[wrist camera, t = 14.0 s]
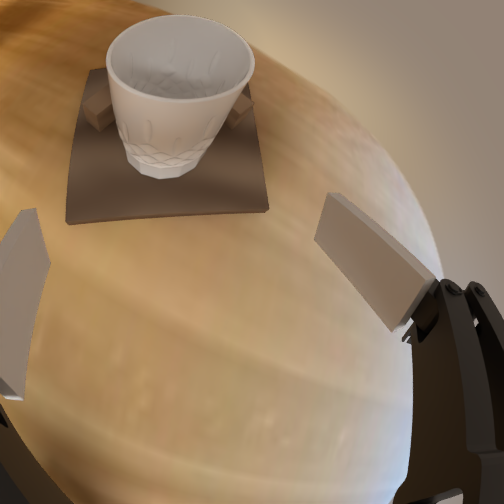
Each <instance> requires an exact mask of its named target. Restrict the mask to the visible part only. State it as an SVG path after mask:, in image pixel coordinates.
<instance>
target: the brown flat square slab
mask: <svg viewBox="0 0 504 504" xmlns="http://www.w3.org/2000/svg"><path fill="white" fill-rule="evenodd" d="M253 105H254V102H253V101H251V96H250V90H249V85H248V83H247V84H246V86H245V87H244V89H243V91H242V92H241V94H240V95H239V97H238V99H237V100H236V102H235V104H234V106H233V107H232V109H231V111H230V113H229V114H228V116H227V118H226V120H225V121H224V123H223V125H222V127H221V128H220V130H219V132H218V133H217V135H216V136H215V138H214V140H213V142H212V143H211V145H210V146H209V147H208V148H207V150H206V152H205V154H204V156H203V157H202V158H201V160H200V161H199V163H198V164H197V166H196V167H195V168H194V169H192V170H190V171H188V172H187V173H185V174H183V175H181V176H180V177H175V178H166V179H157V178H153V177H150V176H147V175H144V174H141V173H140V172H139V171H138V170H136V169H135V168H134V167H133V166H132V165H131V164H130V163H129V162H128V160H127V156H126V153H125V150H124V146H123V142H122V140H121V138H120V136H119V131H118V128H117V124H116V118H115V115H114V111H113V105H112V99H111V93H110V87H109V81H108V74H107V68H104V69H95V70H90V72H89V76H88V79H87V82H86V86H85V90H84V93H83V97H82V101H81V105H80V110H79V114H78V119H77V124H76V129H75V134H74V140H73V146H72V152H71V159H70V167H69V176H68V186H67V199H66V220H65V222H66V223H67V224H68V225H76V224H86V223H96V222H107V221H118V220H131V219H144V218H158V217H174V216H191V215H211V214H235V213H265V212H266V211H267V210H269V204H268V197H267V191H266V184H265V178H264V172H263V166H262V159H261V153H260V147H259V141H258V136H257V130H256V124H255V118H254V113H253V107H252V106H253Z"/></svg>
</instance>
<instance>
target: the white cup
mask: <svg viewBox="0 0 504 504" xmlns="http://www.w3.org/2000/svg"><path fill="white" fill-rule="evenodd" d="M106 67H107V74H108V81H109V87H110V93H111V99H112V105H113V111H114V115H115V118H116V124H117V128H118V131H119V136H120V138H121V140H122V142H123V146H124V150H125V153H126V156H127V160H128V162H129V163H130V164H131V165H132V166H133V167H134V168H135V169H136V170H138V171H139V172H140V173H141V174H144V175H147V176H150V177H153V178H157V179H166V178H175V177H180V176H181V175H183V174H185V173H187V172H188V171H190V170H192V169H194V168H195V167H196V166H197V164H198V163H199V161H200V160H201V158H202V157H203V156H204V154H205V152H206V150H207V148H208V147H209V146H210V145H211V143H212V142H213V140H214V138H215V136H216V135H217V133H218V132H219V130H220V128H221V127H222V125H223V123H224V121H225V120H226V118H227V116H228V114H229V113H230V111H231V109H232V107H233V106H234V104H235V102H236V100H237V99H238V97H239V95H240V94H241V92H242V91H243V89H244V87H245V86H246V84H247V83H248V81H249V79H250V78H251V76H252V74H253V72H254V67H255V59H254V55H253V52H252V50H251V48H250V46H249V45H248V43H247V42H246V41H245V40H244V39H243V38H242V37H241V36H240V35H239V34H238V33H236V32H235V31H234V30H232V29H231V28H229V27H227V26H225V25H223V24H221V23H219V22H216V21H214V20H211V19H207V18H203V17H199V16H192V15H165V16H158V17H154V18H150V19H147V20H144V21H141V22H138V23H136V24H134V25H132V26H130V27H129V28H127V29H126V30H124V31H123V32H122V33H120V34H119V35H118V36H117V37H116V38H115V39H114V41H113V42H112V43H111V45H110V47H109V49H108V51H107V55H106Z"/></svg>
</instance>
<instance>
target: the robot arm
mask: <svg viewBox="0 0 504 504" xmlns="http://www.w3.org/2000/svg"><path fill="white" fill-rule="evenodd" d="M314 240H315V242H316V243H317V244H318V245H319V246H320V247H321V248H322V250H323V251H324V252H325V253H326V254H327V255H328V256H329V258H330V259H331V260H332V261H333V262H334V263H335V264H336V266H337V267H338V268H339V269H340V270H341V271H342V273H343V274H344V275H345V276H346V277H347V278H348V280H349V281H350V282H351V283H352V284H353V286H354V287H355V288H356V289H357V290H358V292H359V293H360V294H361V295H362V296H363V298H364V299H365V300H366V301H367V303H368V304H369V305H370V306H371V308H372V309H373V310H374V311H375V312H376V314H377V315H378V316H379V317H380V319H381V320H382V321H383V323H384V324H385V325H386V326H387V328H388V329H389V330H390V331H391V333H393V332H395V331H397V330H400V329H402V328H403V327H404V326H405V324H406V323H407V322H408V320H409V319H410V317H411V318H412V320H413V321H414V322H413V324H412V325H411V326H410V328H409V329H408V330H407V332H406V333H405V334H404V336H403V337H402V342H404V341H405V339H406V338H407V337H408V336H411V337H410V338H409V339H408V341H407V343H409V344H411V345H412V363H413V420H412V436H411V448H410V457H409V466H408V473H407V477H406V479H405V481H404V482H403V483H402V485H401V486H400V487H399V488H398V490H397V492H396V493H395V496H394V500H393V504H436V503H437V502H439V501H441V500H444V499H447V498H450V497H453V496H456V495H459V494H462V493H463V504H504V320H503V318H502V316H501V314H500V313H499V311H498V309H497V307H496V306H495V304H494V302H493V301H492V299H491V297H490V296H489V294H488V293H487V291H486V290H485V288H484V287H483V286H482V285H481V284H479V283H476V282H473V281H472V282H470V283H469V285H468V286H467V288H466V289H465V290H462V289H461V288H460V287H459V286H458V285H457V284H455V283H454V282H452V281H451V280H448V279H442V280H441V281H440V282H439V281H438V280H437V279H436V277H435V276H434V275H433V274H432V273H431V272H430V271H429V270H428V269H427V268H426V267H425V266H424V265H423V264H422V263H421V262H420V261H419V260H418V259H417V258H416V257H415V256H414V255H413V254H411V253H410V252H409V251H408V250H407V249H406V248H405V247H404V246H403V245H402V244H400V243H399V242H398V241H397V240H396V239H395V238H394V237H393V236H391V235H390V234H389V233H388V232H387V231H386V230H384V229H383V228H382V227H381V226H380V225H379V224H377V223H376V222H375V221H374V220H373V219H371V218H370V217H369V216H368V215H367V214H365V213H364V212H363V211H362V210H360V209H359V208H358V207H357V206H355V205H354V204H353V203H352V202H350V201H349V200H348V199H347V198H345V197H344V196H343V195H341V194H340V193H327V196H326V200H325V203H324V207H323V210H322V214H321V217H320V221H319V224H318V227H317V231H316V234H315V237H314ZM50 264H51V262H50V259H49V256H48V252H47V249H46V246H45V242H44V239H43V235H42V231H41V228H40V224H39V219H38V215H37V211H36V208H33V209H26V210H21V212H20V213H19V214H18V216H17V217H16V219H15V220H14V222H13V224H12V225H11V227H10V228H9V230H8V231H7V233H6V235H5V236H4V238H3V240H2V241H1V243H0V393H1V394H2V395H3V396H4V397H5V398H6V399H13V400H24V391H25V380H26V371H27V363H28V356H29V349H30V343H31V338H32V333H33V328H34V323H35V318H36V314H37V310H38V306H39V302H40V298H41V294H42V290H43V287H44V283H45V280H46V277H47V274H48V270H49V267H50ZM475 318H477V320H478V322H479V323H478V324H477V326H476V327H475V326H474V322H473V321H474V319H475ZM0 504H74V503H73V502H72V501H71V500H70V499H69V498H68V497H67V496H66V495H65V494H64V493H63V492H62V491H61V490H60V488H59V487H58V486H57V485H56V484H55V483H54V482H53V480H52V479H51V478H50V477H49V476H48V474H47V473H46V472H45V471H44V469H43V468H42V467H41V466H40V464H39V463H38V462H37V460H36V459H35V458H34V456H33V455H32V454H31V452H30V451H29V449H28V448H27V446H26V445H25V443H24V442H23V441H22V439H21V437H20V436H19V434H18V433H17V431H16V430H15V428H14V426H13V425H12V423H11V421H10V420H9V418H8V416H7V414H6V413H5V411H4V409H3V407H2V405H1V404H0Z"/></svg>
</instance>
